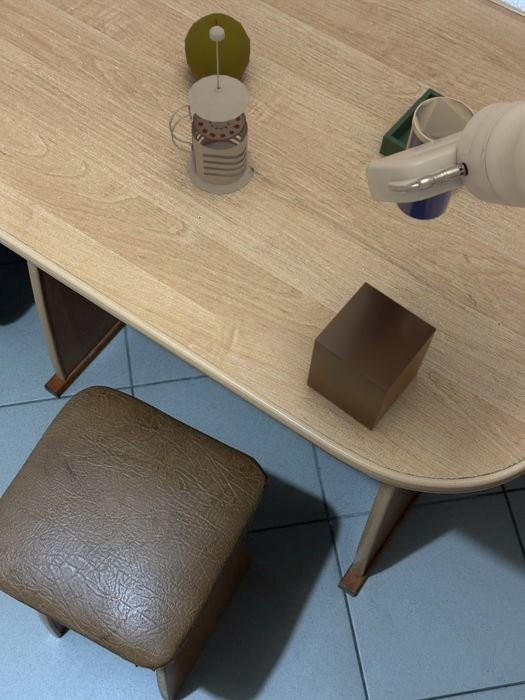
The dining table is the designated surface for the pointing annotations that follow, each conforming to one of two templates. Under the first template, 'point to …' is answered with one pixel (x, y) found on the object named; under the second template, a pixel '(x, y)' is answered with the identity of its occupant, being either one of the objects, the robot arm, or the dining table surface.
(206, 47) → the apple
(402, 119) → the bin
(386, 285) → the dining table surface
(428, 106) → the canister
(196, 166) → the french press
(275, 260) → the dining table surface
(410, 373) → the block
